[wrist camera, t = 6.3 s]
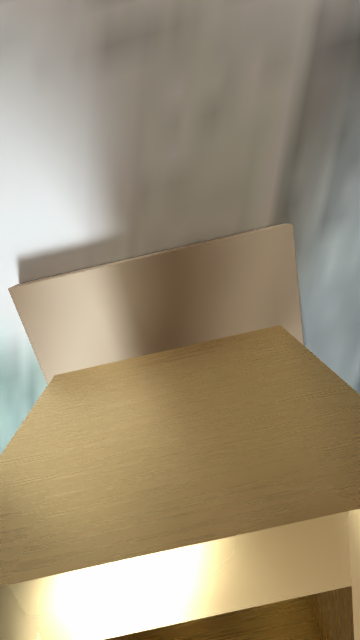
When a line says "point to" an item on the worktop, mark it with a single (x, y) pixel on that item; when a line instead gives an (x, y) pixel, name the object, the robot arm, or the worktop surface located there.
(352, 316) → the worktop surface
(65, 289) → the post board
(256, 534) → the brass collar
